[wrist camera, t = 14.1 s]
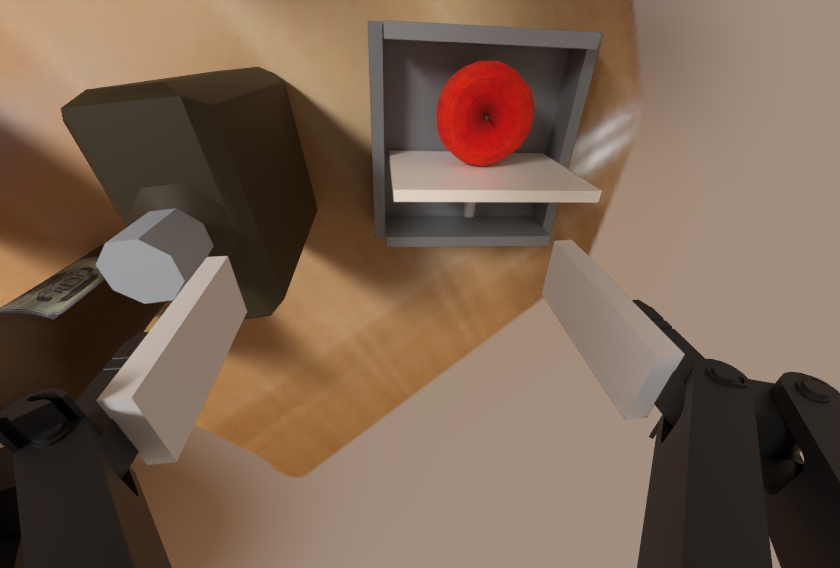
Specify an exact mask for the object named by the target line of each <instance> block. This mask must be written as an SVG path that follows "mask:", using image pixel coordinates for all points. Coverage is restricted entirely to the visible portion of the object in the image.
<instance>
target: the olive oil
mask: <svg viewBox="0 0 840 568" xmlns="http://www.w3.org/2000/svg"><path fill="white" fill-rule="evenodd" d="M104 245H105V244H103V245H101V246H99V247H98V248H96V249H94V250H93V251H91V252H90V253H88V254H87V255H85V256H84V257H82V258H81V259H79V260H77V261H76V262H74V263H72V264H71V265H69V266H67V267H65V268H64V269H63V270H61V271H59V272H58V273H56V274H55V275H53V276H52V277H50V278H48V279H47V280H45V281H44V282H42V283H40V284H39V285H37V286H35V287H34V288H32V289H31V290H29V291H27V292H26V293H24V294H22V295H21V296H19V297H17V298H16V299H14V300H12V301H11V302H9V303H7V304H6V305H4V306H2V307H1V308H0V411H1V410H3V409H4V408H5V407H7V406H8V405H9V404H11V403H12V402H14V401H16V400H18V399H20V398H22V397H24V396H25V395H28V394H31V393H33V392H36V391H39V390H43V389H49V388H58V389H64V390H65V392H66V393H67V394H68V395H69V396H70V397H71V398H72V400H73V401H74V402H76V400H77V399H78V398H79V397H80V396H81V394H82V393H83V392H84V391H85V389H86V388H87V387H88V386H89V385H90V383H91V382H92V381H93V380H94V379H95V377H96V376H97V375H98V374H99V373H100V371H103V368H104V366H105V365H106V364H107V363H108V362H109V360H112V357H113V356H114V354H115V353H116V352H117V351H118V350H119V348H120V347H121V346H122V345H123V344H124V343H125V342H127V341H128V340H129V339H131V338H132V337H134V336H135V335H136V334H138V333H139V332H144V330H145V329H146V327H147V326H148V325H149V323H150V322H151V321H152V319H153V318H154V317H155V315H156V314H157V313H158V312H159V310H160V309H161V308H162V306H163V305H164V304H165V302H166V301H163V302H155V303H147V304H144V303H142V302H139V301H137V300H135V299H133V298H130V297H128V296H126V295H123V294H121V293H119V292H116V291H114V290H113V289H112V288H111V286H110V285H109V284H108V282H107V281H106V279H105V278H104V276H103V275H102V273H101V272H100V271H99V269H98V268H97V266H96V263H97V261H98V258H99V256H100V254H101V251H102V249H103V247H104Z"/></svg>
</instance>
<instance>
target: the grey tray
mask: <svg viewBox="0 0 840 568" xmlns="http://www.w3.org/2000/svg"><path fill="white" fill-rule="evenodd" d="M602 38H603V34H601V32H585V31H567V30H550V29H532V28H514V27H496V26H478V25H460V24H442V23H424V22H407V21H389V20H384V21H383V24H382V22H378V21H368V42H369V73H370V103H371V134H372V165H373V195H374V226H375V237H385V225H386V243H387V247H472V246H548V244H549V240H550V235H551V231H552V227H553V223H554V219H555V216H556V212H557V208H558V204H559V202H476V203H475V211H474V216H473V217H465V216H463V211H464V202H394V200H393V190H392V180H391V171H390V161H389V150H397V151H448V150H447V149H446V147H445V146H444V145H443V143H442V142H441V140H440V137H439V133H438V130H437V105H438V100H439V97H440V95H441V92H442V90H443V88H444V86H445V85H446V83H447V81H448V80H449V79H450V78H451V77H452V76H453V75H454V74H455V73H456V72H457V71H459V70H460V69H461V68H463V67H465V66H467V65H470V64H472V63H475V62H478V61H499V62H501V63H504V64H506V65H508V66H509V67H511V68H513V69H514V70H516V71H517V72H518V73H519V75H520V76H521V77H522V78H523V80H524V81H525V82H526V83H527V85H528V86H529V87H530V88H531V92H532V96H533V101H534V116H533V121H532V126H531V130H530V132H529V133H528V135H527V137H526V138H525V140H524V142H523V143H522V145H521V146H520V147H519V148H518V149H517V150H516V151H514V152H513V153H543V154H545V155H546V156H548V157H549V158H551V159H552V160H554V161H556V162H557V163H559V164H560V165H562V166H563V167H565V168H567V169H568V166H569V163H570V159H571V155H572V151H573V147H574V144H575V140H576V136H577V132H578V129H579V125H580V121H581V117H582V113H583V110H584V106H585V102H586V98H587V94H588V91H589V87H590V83H591V79H592V76H593V72H594V68H595V64H596V60H597V57H598V53H599V49H600V45H601V42H602Z"/></svg>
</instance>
